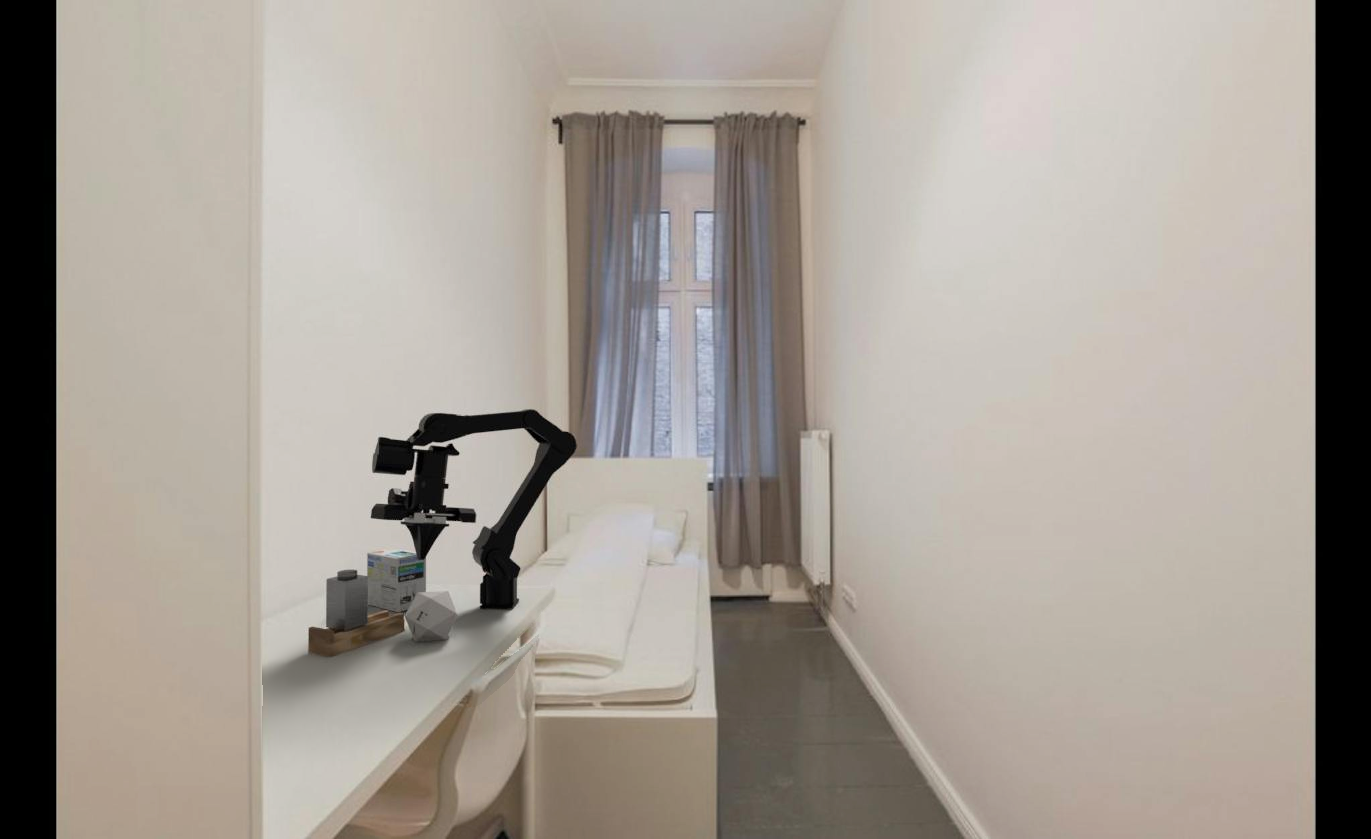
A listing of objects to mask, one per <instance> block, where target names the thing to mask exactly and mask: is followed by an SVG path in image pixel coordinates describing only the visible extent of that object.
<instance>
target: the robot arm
mask: <svg viewBox="0 0 1371 839" xmlns="http://www.w3.org/2000/svg"><path fill="white" fill-rule="evenodd" d="M519 429H523V430H524V431H526V432H527V433H528V435H529V436H531V437H532V439H534V440H535V441H536V442H537V443H538V447H537V449H536V451H535V456H534V462H533V465H532V467H531V468H530V469H529V471H528V473H527V475H525V476H526V477H525V478H524V480H522V483H521V484H520V486H519V487H518V489H517V491H516V492H515V494H514V496H513V497H512V499H511V500H510V502H509V503H508V505H507V507H506V509H505V510H504V511H503V513H502V515H501V516H500V518H499V520H498V521H497V522H496V523H495V524H494V525H493V526H491V527H488V526H486V525H483V527H482V528H481V530H480V532H479V534H478V536H477V538H476V539H475V540H474V541H472V544H473V545H474V546H473V547H472V551H471V554H472V558H473V560H474V561H475V563H476V564H478V565H479V566H480V567H481V569H482V572H484V573H485V574H484V575H482V582H481V583H479V604H480V606H479V609H480V610H512V609H514V607H516V605H517V604H518V603H519V602H520V598H518V577H519V575H520V572H521V567H520V565H518V564H517V563H516V562H515V561H514V560H513V559H511V556H512V553H513V550H514V548H515V544H516V543H515V542H516V538H517V534H518V532H519V530H520V528H521V527H522V525H523V524H524V521H525V520H526V518H527V517H528V515H529V514H530V512H531V511H532V509H533V507H534V506H535V504H536V502H537V501H538V499H539V498H540V496H541V494H542V493H543V491H544V490H545V487H546V486H547V484H548V482H549V481H550V480H551V478H552V477H553V475H554V474H555V472H556V473H557V471H558V470H559V469H561V468H562V467H563V466H564V465H566V464H567V462H568V461H569V460H570V458H572V456H573V455H574V454H575V453H576V451H577V447H578V444H577V440H576V438H575V436H574V435H573V434H572V433H571V432H569V431H567V430H566V431H564V430H562V429H561V428H559V427H558V426H557V425H556V424H554V423H552V422H551V421H550V420H548V419H547V418H545V417H544V416H543V415H542V414H540V412H539V411H538V410H536V409H532V408H531V409H530V408H529V409H528V408H527V409H522V410H519V411H508V412H507V411H506V412H495V413H494V412H493V413H483V414H474V415H468V414H467V415H466V414H455V413H443V412H432V413H431V412H430V413H428V414H425V415H424V416H423V417H422V418H421V419H420V421H419V422H418V429H416V430H415V431H414V432H413V433H412V434H411V436H410V435H409V437H408V438H407V439H406V440H404V439H395V438H389V437H385V436H379V437H378V438H377V443H376V446H375V450H374V452H373V454H372V460H371V463H372V464H371V472H372V473H373V474H384V475H385V474H386V475H398V476H406V474H407V471H408V472H411V471H413V469H414V474H413V475H414V477H413V481H411V480H410V481H409V485H408V489H407V491H406V490H403V489H402V488H394V487H393V488H390V489H388V495H387V503H375V504H374V505H373V507H372V508H371V511H370V512H371V513H370V519H374V520H375V519H376V520H380V521H381V520H382V521H383V520H384V521H399V522H400V525H404V526H405V527H406V528H407V529H408V531H409V533H410V536H411V538H412V542H413V545H414V550H415V552H416V554H417V558H418V560H424V559H425V557H426V558H427V555H428V554H429V552H430V550H431V548H432V547H433V545H434V543H435V542H436V540H437V539H438V537H439V536H440V535H441V533H442V532H443V530H444V529H445V528H447V527H450V523H447V522H461V523H465V524H468V523H469V524H470V523H472V524H476V523H477V512H476V511H475V509H474V508H468V507H454V506H453V507H451V506H450V507H449V506H447V505H446V504H444V497H445V490H449V485H450V484H449V483H446V480H447V479H446V478H447V471H448V462H449V457H456V456H459V455H460V451H459V450H457V448H455V446H454V443H452V442H450V441H452V440H453V441H454V440H457V439H460V438H463V437H466V436H469V435H473V434H480V433H491V432H500V431H509V430H519ZM445 442H450V443H448V444H446V445H445V446H442V445H430V444H432V443H437V444H439V443H440V444H444V443H445ZM428 445H429V447H428V449H421V448H420V449H419V448H414V447H415V446H416V447H426V446H428ZM415 456H416V457H415ZM415 459H416V460H415ZM414 465H415V466H414Z"/></svg>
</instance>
